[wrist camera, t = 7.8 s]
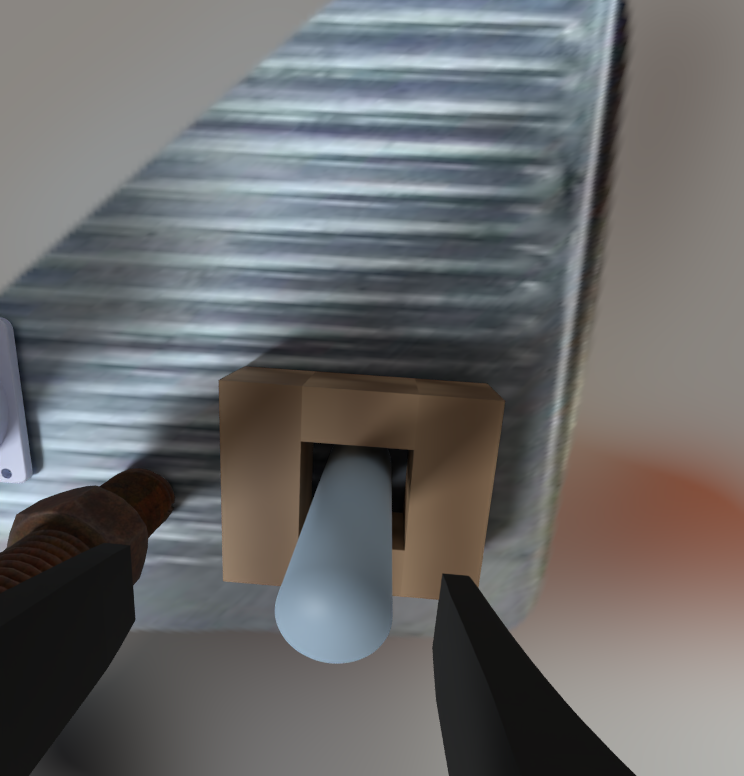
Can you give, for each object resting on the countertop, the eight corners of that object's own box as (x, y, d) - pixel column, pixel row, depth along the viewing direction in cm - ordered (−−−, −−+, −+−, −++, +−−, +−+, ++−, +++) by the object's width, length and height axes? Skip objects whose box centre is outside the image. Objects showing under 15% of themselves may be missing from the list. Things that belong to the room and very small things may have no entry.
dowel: (330, 491, 20) (279, 662, 11) (327, 433, 19) (270, 562, 10) (392, 491, 20) (393, 664, 11) (391, 432, 19) (391, 563, 10)
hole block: (246, 540, 21) (223, 581, 18) (244, 366, 19) (218, 379, 16) (464, 558, 21) (476, 602, 18) (487, 383, 19) (505, 400, 16)
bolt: (102, 427, 20) (-692, 805, 5) (204, 452, 20) (-299, 894, 5) (92, 531, 21) (-562, 1060, 7) (188, 554, 21) (-250, 1128, 7)
